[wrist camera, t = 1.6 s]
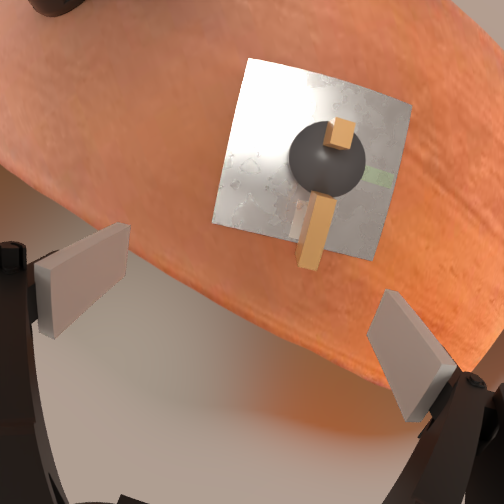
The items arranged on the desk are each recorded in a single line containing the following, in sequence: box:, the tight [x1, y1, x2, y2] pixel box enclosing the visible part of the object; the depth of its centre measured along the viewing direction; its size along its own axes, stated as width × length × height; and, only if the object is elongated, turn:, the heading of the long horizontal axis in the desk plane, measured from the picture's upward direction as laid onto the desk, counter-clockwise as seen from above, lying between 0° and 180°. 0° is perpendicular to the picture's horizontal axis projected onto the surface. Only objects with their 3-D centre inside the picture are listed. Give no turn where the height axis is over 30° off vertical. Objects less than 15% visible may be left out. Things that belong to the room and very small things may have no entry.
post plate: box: [212, 58, 412, 261], centre depth 36 cm, size 22×22×6 cm
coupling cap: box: [288, 117, 366, 271], centre depth 30 cm, size 14×8×8 cm, turn 167°
